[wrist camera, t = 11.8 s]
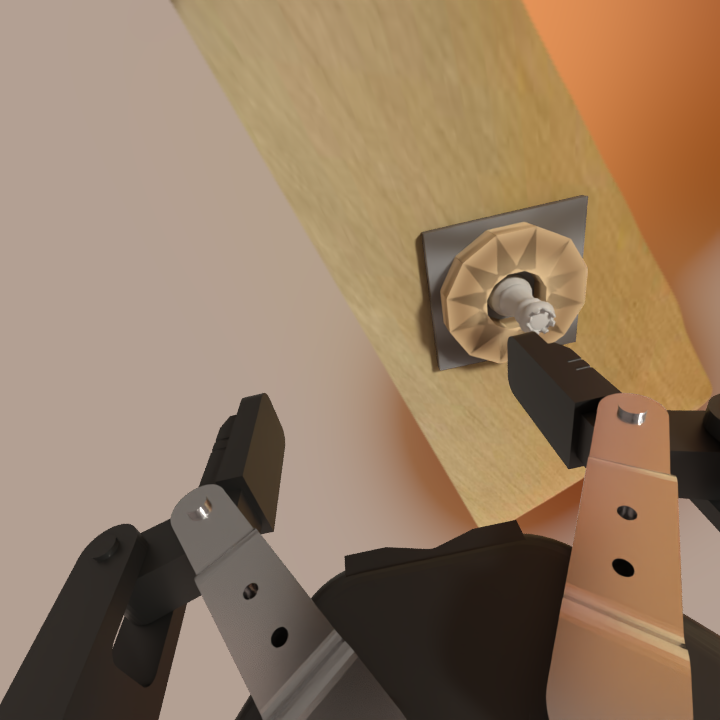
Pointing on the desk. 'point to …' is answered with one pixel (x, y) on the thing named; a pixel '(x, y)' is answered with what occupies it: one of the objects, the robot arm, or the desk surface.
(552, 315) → the rook chess piece
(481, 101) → the desk surface
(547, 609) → the robot arm
